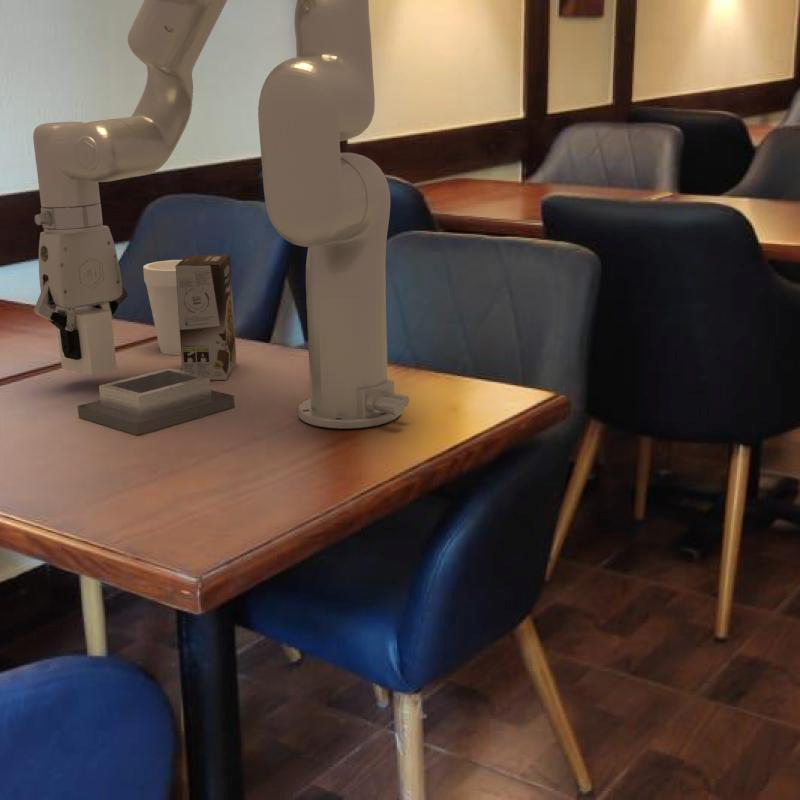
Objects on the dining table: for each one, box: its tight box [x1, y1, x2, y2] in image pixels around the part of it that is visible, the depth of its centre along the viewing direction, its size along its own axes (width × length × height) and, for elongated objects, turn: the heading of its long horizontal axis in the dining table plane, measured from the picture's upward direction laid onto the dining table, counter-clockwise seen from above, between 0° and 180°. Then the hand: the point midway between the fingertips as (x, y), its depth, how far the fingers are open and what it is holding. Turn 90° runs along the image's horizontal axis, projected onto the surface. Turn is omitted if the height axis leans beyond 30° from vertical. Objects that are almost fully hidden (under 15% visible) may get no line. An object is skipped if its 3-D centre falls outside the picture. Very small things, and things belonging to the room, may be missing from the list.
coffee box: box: [175, 253, 237, 381], centre depth 167 cm, size 9×6×16 cm
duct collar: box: [77, 367, 235, 437], centre depth 150 cm, size 12×15×4 cm
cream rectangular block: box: [54, 306, 118, 376], centre depth 162 cm, size 7×4×8 cm, turn 48°
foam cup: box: [142, 259, 183, 356], centre depth 181 cm, size 10×9×13 cm
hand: (87, 353), depth 162 cm, fingers closed on cream rectangular block, 4 cm apart
